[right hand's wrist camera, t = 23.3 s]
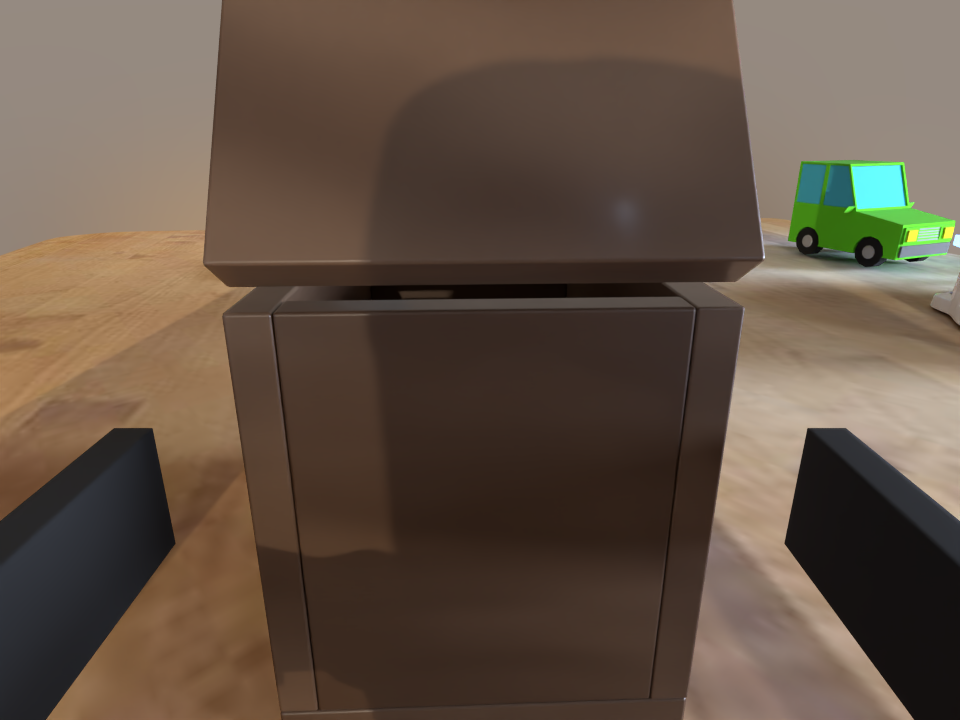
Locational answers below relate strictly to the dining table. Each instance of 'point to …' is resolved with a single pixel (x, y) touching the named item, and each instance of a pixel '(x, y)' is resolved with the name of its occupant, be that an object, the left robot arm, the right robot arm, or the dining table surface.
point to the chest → (483, 493)
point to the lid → (480, 144)
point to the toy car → (863, 213)
